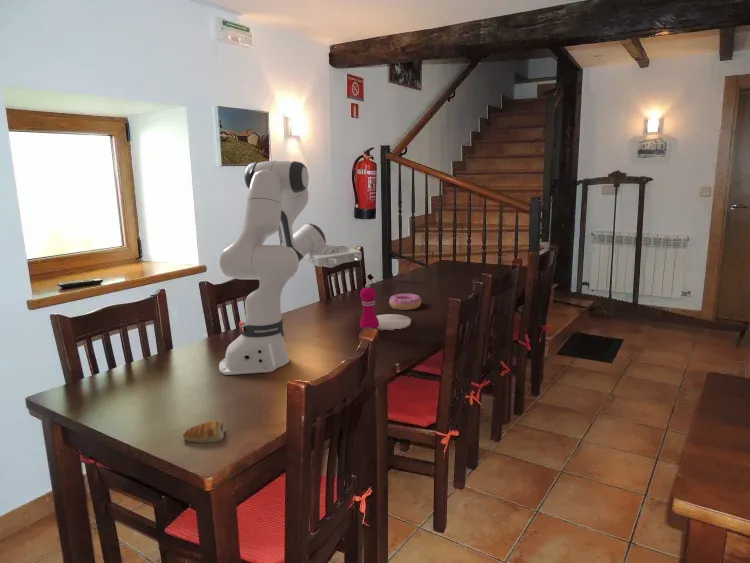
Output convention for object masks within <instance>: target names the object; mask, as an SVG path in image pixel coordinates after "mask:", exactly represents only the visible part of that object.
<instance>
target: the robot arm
mask: <svg viewBox="0 0 750 563" xmlns="http://www.w3.org/2000/svg"><path fill="white" fill-rule="evenodd" d="M309 179H310V176H309V170H308V168H307V166H306V165H305V164H304V163H303V162H299V161H297V160H296V161H295V160H293V161H288V160H287V161H285V160H283V161H282V160H267V161H255V162H251V163H249V164H248V165H247V167H246V168H245V169H244V182H245V186H246V188H247V189H248V193H247V199H246V208H245V217H244V221H243V226H242V228H241V231H240V233H239V234H238V236H237V237H236V239H235V240H234V241H232V243H231V244H230V245H228V246H227V247H225V249H223V250H222V252H221V254H220V257H219V267H220V271H222V273H223V275H224V276H225V277H228V278H232V279H237V280H258V282H259V283H258V284H259V285H258V288H257V289H256V290H253V291H252V292H250V293H249V294H248V295H247V296H246V298H245V301H244V306H245V307H244V308H245V316H246V317H245V318H246V321H240V322H238V323H239V324H238V327H239V328H240V335H239V336H238V337H237V338H236V339H235V340H233V341H232V342H230V344H229V345H228V346H227V347H226V351H225V357H224V358H223V359H222V360H221V361H219V365H218V369H219V370H218V371H219V372H220V373H221V374H223V375H225V376H226V375H227V376H229V375H246V374H258V373H271V372H274V371H275V370H277V369H278V368H281V367H283V366H286V365H287V364H289V362H290V357H289V355H288V351H287V349H286V344H285V339H284V336H285V335H284V334H285V326H284V321H283V318H282V312H281V311H282V310H281V304H282V303H281V301H282V300H281V298H282V292H283V290H284V287H285V285H286V284H287V283H288V282H289V280H290V279H292V278H293V277H294V276H295V275H296V274H297V271H298V269H299V265H300V261H302V260H303V259H304V260H306V262H308V263H310V264H312V265H313V266H316V267H319V268H321V267H326V268H335V267H336V266H340V265H341V264H345V263H351V262H359V261H361V260H362V258H363V257H362V255H363V254H362V251H361V250H358V249H356V248H355V249H354V248H351V247H350V248H349V247H348V246H347V245H342V246H339V245H338V246H336V245H330V244H329V245H328V244H327V240H326V235H325V233H324V232H323V231H322V229H321V228H320V227H319V226H317V225H316V224H313V223H309V222H307V223H305V224H304V225H303V226H301V227H300V228H299V229H298V230H297V231H295V232H293V226H294V223H295V221H296V220H297V219H298V216H299V215H300V214H301V212H302V211H303V210H304V209H305V208H306V206H307V205H308V202H309V190H308V185H309V181H310V180H309ZM277 232H278V236H279V242H280V243H279V244H264V243H265V241H267V239H268V238H269V237H270V236H272V235H275V234H276V233H277Z"/></svg>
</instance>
